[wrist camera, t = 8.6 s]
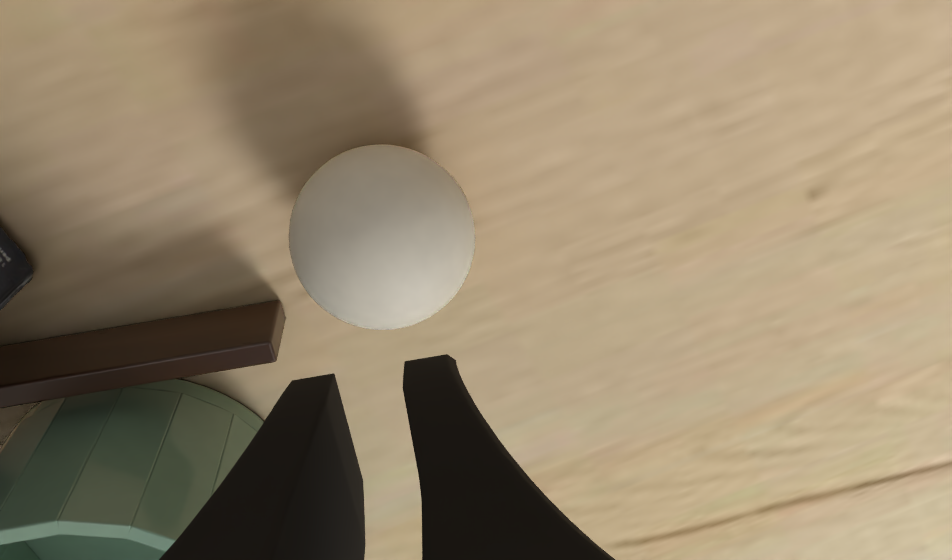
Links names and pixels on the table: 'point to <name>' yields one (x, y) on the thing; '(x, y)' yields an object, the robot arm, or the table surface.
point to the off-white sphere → (381, 237)
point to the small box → (12, 269)
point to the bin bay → (140, 353)
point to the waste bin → (116, 470)
